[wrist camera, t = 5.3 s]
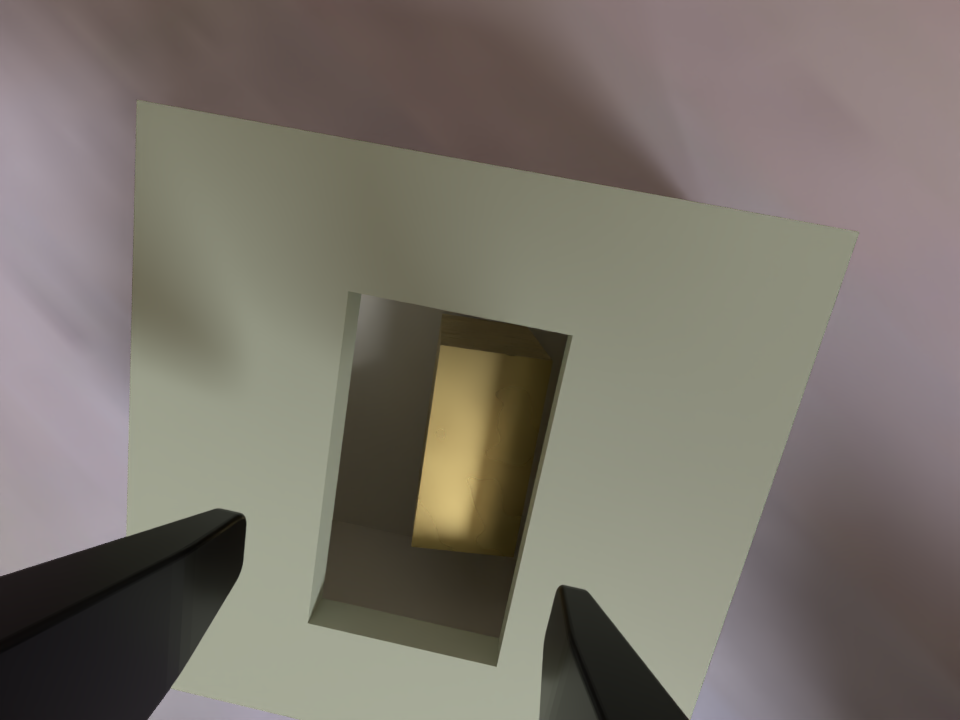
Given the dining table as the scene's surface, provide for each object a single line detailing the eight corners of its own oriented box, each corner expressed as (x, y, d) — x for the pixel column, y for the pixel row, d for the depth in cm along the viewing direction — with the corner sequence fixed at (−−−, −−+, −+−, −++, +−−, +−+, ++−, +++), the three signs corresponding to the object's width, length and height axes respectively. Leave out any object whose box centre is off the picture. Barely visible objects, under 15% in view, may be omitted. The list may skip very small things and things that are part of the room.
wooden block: (526, 326, 16) (552, 360, 12) (498, 480, 17) (513, 557, 13) (442, 313, 16) (440, 344, 12) (419, 471, 17) (411, 546, 13)
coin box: (714, 232, 15) (859, 231, 8) (612, 592, 18) (659, 806, 11) (306, 156, 16) (137, 99, 9) (271, 516, 19) (122, 677, 12)
